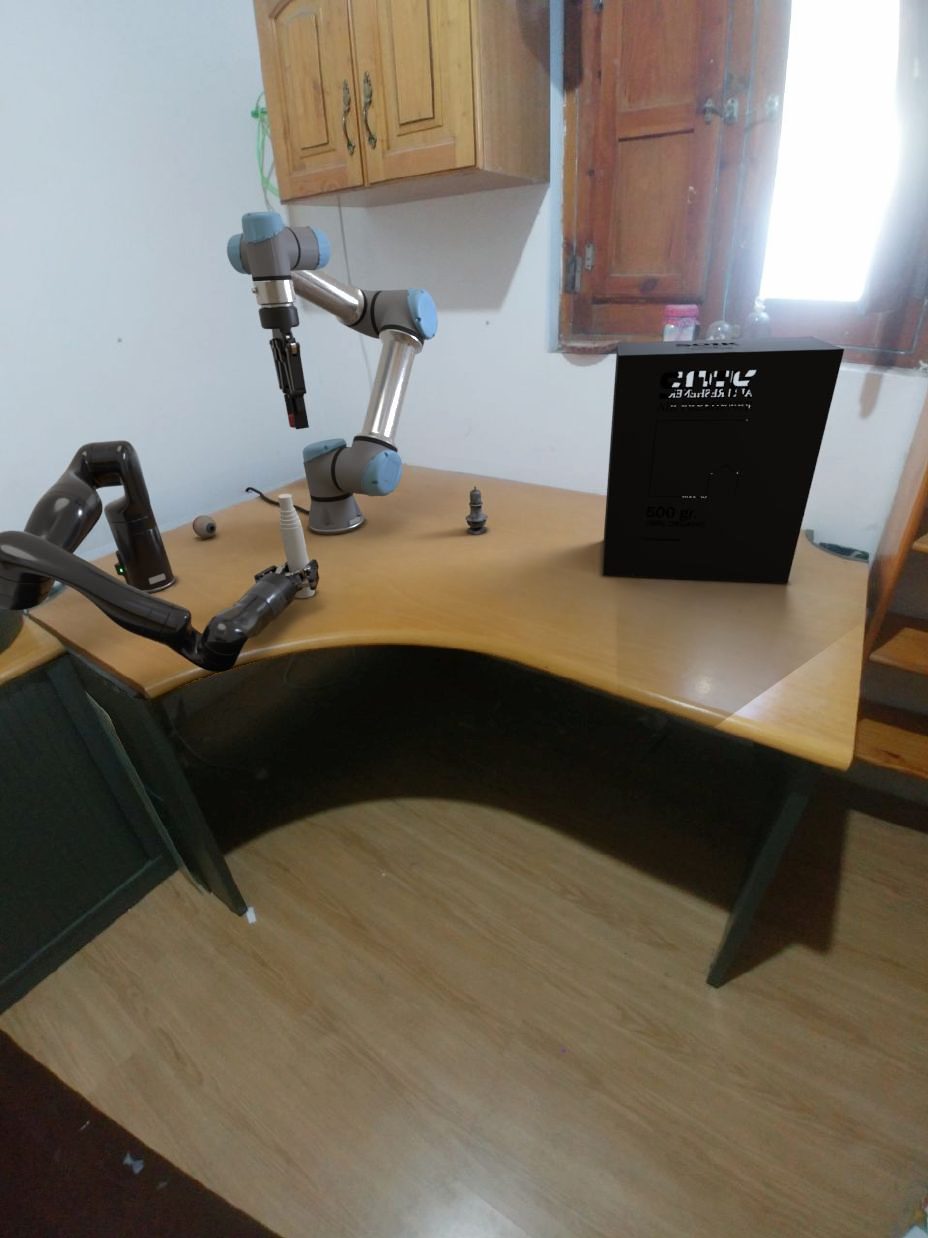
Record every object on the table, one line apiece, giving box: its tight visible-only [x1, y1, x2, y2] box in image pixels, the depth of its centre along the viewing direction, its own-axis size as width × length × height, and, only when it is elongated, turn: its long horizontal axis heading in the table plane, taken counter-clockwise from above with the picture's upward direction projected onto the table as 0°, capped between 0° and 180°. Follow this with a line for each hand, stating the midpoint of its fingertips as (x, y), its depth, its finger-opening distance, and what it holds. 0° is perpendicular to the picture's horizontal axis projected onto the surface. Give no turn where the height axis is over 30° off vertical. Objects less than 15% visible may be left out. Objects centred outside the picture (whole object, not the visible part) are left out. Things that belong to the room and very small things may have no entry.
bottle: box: [277, 493, 316, 599], centre depth 128 cm, size 4×4×22 cm
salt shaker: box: [464, 486, 489, 535], centre depth 157 cm, size 6×6×12 cm
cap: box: [287, 414, 296, 429], centre depth 131 cm, size 4×4×2 cm
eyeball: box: [192, 514, 217, 538], centre depth 165 cm, size 6×6×6 cm
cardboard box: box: [602, 336, 845, 585], centre depth 127 cm, size 38×20×45 cm, turn 78°
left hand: (304, 562), depth 133 cm, fingers closed on bottle, 4 cm apart
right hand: (299, 426), depth 131 cm, fingers closed on cap, 4 cm apart
